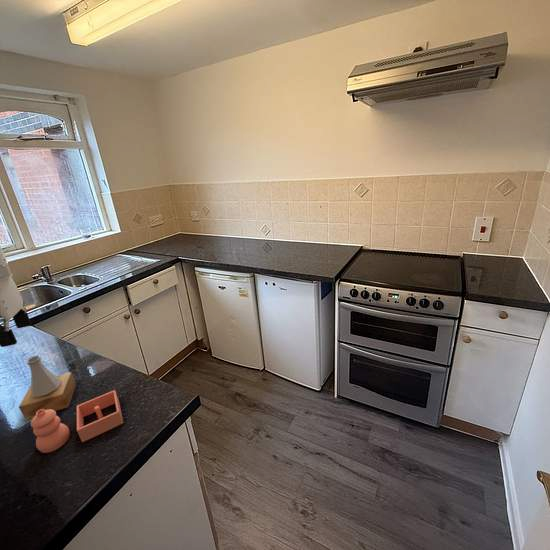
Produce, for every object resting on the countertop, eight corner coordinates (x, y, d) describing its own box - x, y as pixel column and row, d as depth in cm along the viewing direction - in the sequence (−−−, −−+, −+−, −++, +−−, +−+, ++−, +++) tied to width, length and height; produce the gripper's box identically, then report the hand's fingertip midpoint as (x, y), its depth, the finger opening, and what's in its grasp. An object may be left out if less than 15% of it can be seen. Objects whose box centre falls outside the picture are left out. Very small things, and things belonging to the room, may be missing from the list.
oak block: (26, 421, 79) (18, 407, 78) (38, 396, 88) (32, 383, 86) (68, 408, 82) (62, 394, 81) (76, 385, 91) (71, 372, 89)
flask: (29, 402, 79) (14, 371, 75) (32, 387, 85) (18, 357, 81) (61, 389, 82) (48, 359, 79) (62, 375, 88) (49, 347, 84)
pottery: (119, 401, 83) (108, 373, 79) (123, 424, 75) (112, 393, 72) (41, 435, 74) (25, 405, 71) (37, 465, 67) (19, 433, 63)
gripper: (-12, 266, 78) (13, 323, 84) (-52, 289, 62) (-18, 357, 69) (23, 261, 80) (45, 317, 86) (-8, 282, 65) (21, 349, 71)
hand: (17, 335), depth 77 cm, fingers open, 9 cm apart
